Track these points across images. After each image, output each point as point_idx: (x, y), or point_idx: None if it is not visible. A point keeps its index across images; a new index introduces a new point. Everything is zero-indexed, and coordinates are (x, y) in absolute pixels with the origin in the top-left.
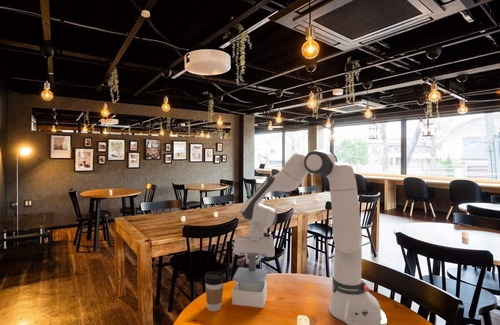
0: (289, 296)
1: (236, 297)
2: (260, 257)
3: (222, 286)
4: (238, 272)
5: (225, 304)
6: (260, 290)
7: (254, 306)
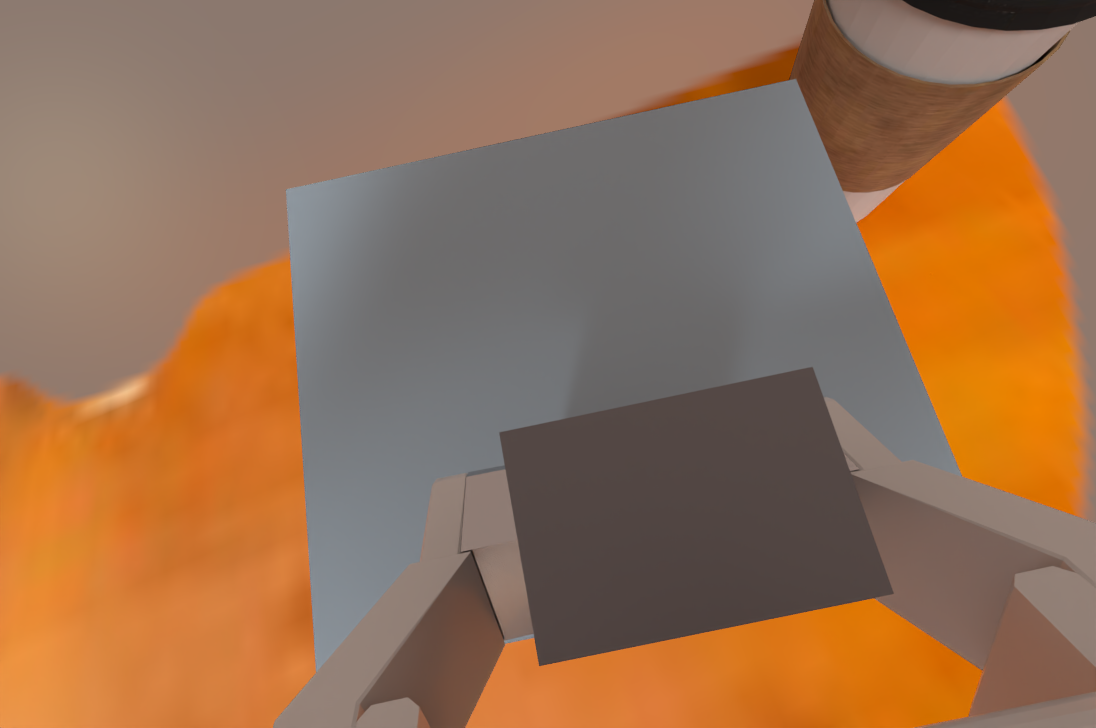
0: (228, 689)
1: None
2: (336, 676)
3: (834, 8)
4: (834, 297)
5: None
6: None
7: None
